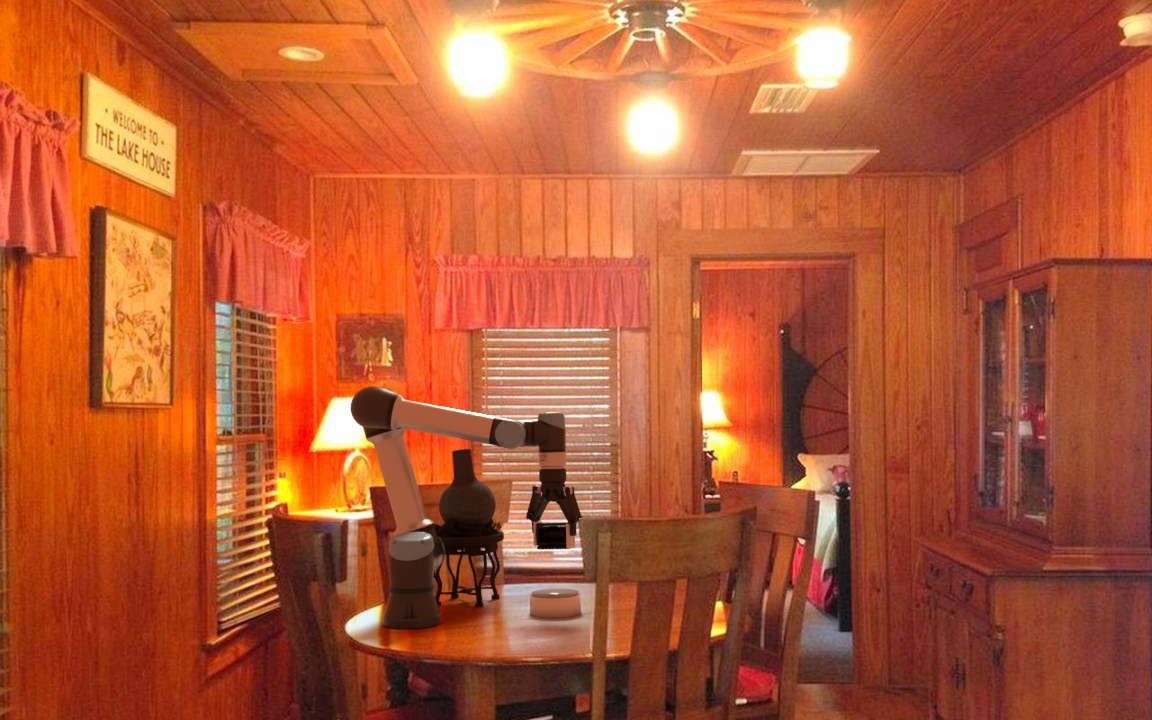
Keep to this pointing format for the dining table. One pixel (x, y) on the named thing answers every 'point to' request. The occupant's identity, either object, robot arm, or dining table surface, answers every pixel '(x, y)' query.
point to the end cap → (551, 535)
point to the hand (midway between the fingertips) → (554, 546)
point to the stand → (555, 603)
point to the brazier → (468, 526)
